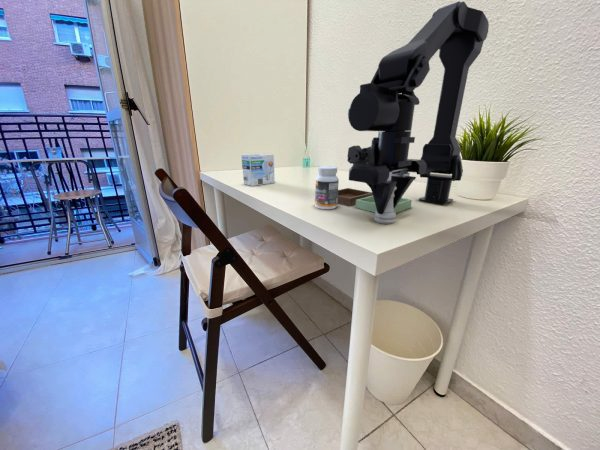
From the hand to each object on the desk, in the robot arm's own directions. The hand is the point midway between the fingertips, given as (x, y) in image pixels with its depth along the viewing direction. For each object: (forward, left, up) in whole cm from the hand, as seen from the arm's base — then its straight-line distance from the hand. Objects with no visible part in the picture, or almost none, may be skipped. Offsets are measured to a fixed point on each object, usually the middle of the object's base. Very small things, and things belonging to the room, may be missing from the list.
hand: (385, 211), depth 51 cm
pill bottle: (+1, -16, -2) cm, 16 cm away
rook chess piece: (0, 0, -2) cm, 2 cm away
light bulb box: (-4, -57, -2) cm, 57 cm away
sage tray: (-9, -6, -2) cm, 11 cm away
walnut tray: (-9, -17, -2) cm, 19 cm away
